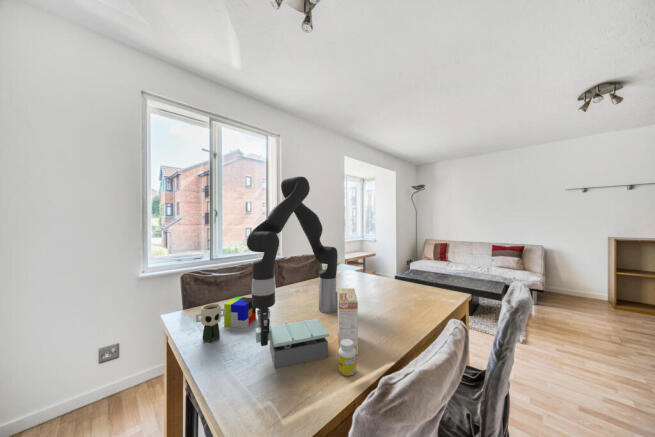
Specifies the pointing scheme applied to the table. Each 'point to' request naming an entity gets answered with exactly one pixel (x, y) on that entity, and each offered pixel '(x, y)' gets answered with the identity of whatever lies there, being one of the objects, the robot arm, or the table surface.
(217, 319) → the character mug
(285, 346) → the steel bushing
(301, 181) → the robot arm
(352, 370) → the supplement bottle
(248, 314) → the puzzle toy
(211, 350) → the table surface
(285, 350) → the tub
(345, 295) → the coffeecake box
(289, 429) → the table surface
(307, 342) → the walnut block
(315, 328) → the lid
